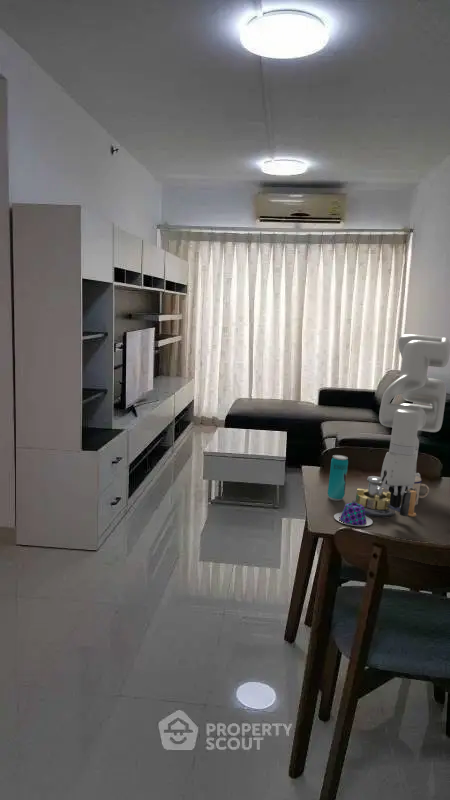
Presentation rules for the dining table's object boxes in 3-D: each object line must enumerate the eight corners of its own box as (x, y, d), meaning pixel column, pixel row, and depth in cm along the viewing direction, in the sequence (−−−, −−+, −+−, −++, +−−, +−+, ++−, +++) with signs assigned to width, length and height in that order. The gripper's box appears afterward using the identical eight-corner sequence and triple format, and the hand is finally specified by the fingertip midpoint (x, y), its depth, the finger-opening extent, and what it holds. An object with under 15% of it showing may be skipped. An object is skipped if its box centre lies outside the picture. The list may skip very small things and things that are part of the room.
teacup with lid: (392, 504, 211) (396, 471, 209) (390, 496, 220) (395, 465, 218) (428, 509, 209) (433, 476, 207) (425, 501, 218) (430, 469, 216)
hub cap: (369, 500, 213) (373, 470, 211) (403, 513, 202) (407, 482, 200) (342, 506, 204) (346, 475, 202) (377, 520, 193) (381, 487, 192)
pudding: (343, 511, 200) (345, 496, 199) (378, 521, 193) (380, 505, 193) (327, 520, 191) (328, 504, 190) (363, 531, 184) (365, 515, 183)
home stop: (408, 512, 204) (411, 489, 203) (418, 515, 201) (421, 492, 200) (402, 513, 202) (405, 490, 200) (411, 517, 199) (414, 493, 198)
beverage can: (343, 502, 209) (348, 459, 206) (326, 500, 210) (331, 457, 207) (343, 497, 214) (348, 455, 212) (327, 495, 215) (332, 453, 213)
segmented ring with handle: (348, 500, 204) (351, 478, 203) (371, 495, 211) (374, 474, 210) (395, 519, 189) (398, 495, 188) (418, 513, 196) (421, 490, 195)
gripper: (415, 446, 194) (407, 501, 197) (374, 446, 189) (367, 503, 192) (430, 452, 187) (422, 509, 190) (388, 452, 182) (381, 511, 185)
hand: (394, 506), depth 191 cm, fingers closed
